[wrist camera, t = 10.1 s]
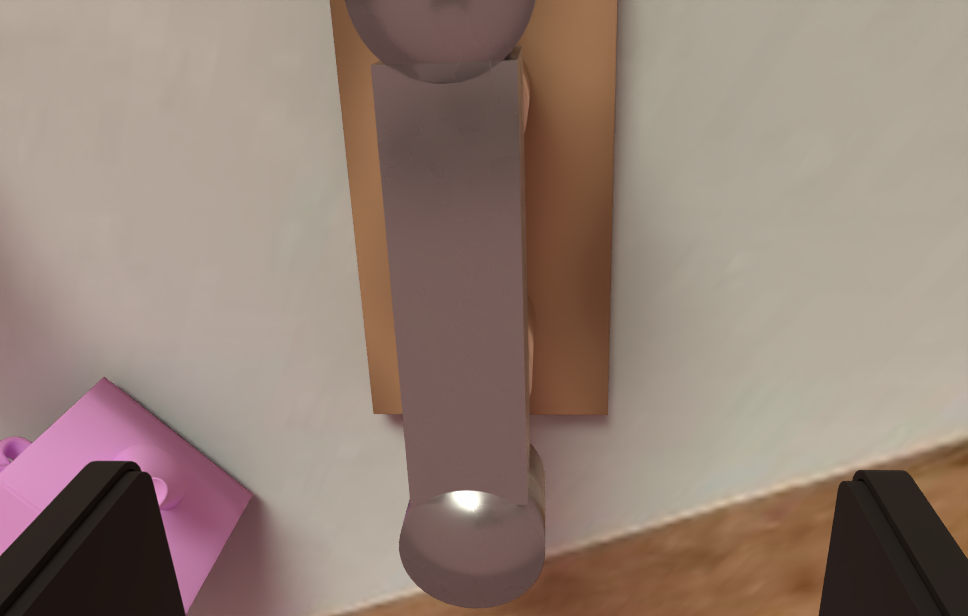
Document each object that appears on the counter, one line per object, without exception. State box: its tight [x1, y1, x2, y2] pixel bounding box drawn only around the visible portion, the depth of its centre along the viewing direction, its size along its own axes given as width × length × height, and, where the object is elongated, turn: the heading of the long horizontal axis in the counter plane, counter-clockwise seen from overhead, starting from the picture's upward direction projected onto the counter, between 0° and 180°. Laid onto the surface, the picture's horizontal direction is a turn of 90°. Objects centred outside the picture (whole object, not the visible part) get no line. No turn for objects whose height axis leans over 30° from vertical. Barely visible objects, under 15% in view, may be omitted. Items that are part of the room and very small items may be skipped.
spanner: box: [345, 0, 545, 608], centre depth 24 cm, size 5×21×4 cm, turn 2°
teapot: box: [0, 377, 253, 616], centre depth 34 cm, size 18×14×10 cm
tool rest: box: [330, 0, 617, 415], centre depth 29 cm, size 10×18×7 cm, turn 2°
